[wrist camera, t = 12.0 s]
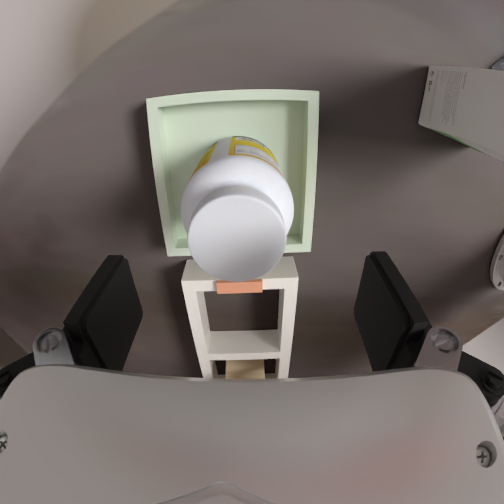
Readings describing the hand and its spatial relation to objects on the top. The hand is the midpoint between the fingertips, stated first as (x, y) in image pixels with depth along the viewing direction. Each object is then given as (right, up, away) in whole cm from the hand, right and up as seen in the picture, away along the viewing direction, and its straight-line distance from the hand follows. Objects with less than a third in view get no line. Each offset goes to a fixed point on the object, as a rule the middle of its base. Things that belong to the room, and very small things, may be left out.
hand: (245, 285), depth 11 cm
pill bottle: (-1, +8, +13) cm, 15 cm away
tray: (-1, +8, +13) cm, 15 cm away
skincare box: (+20, +15, +10) cm, 27 cm away
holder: (-1, -8, +23) cm, 24 cm away
